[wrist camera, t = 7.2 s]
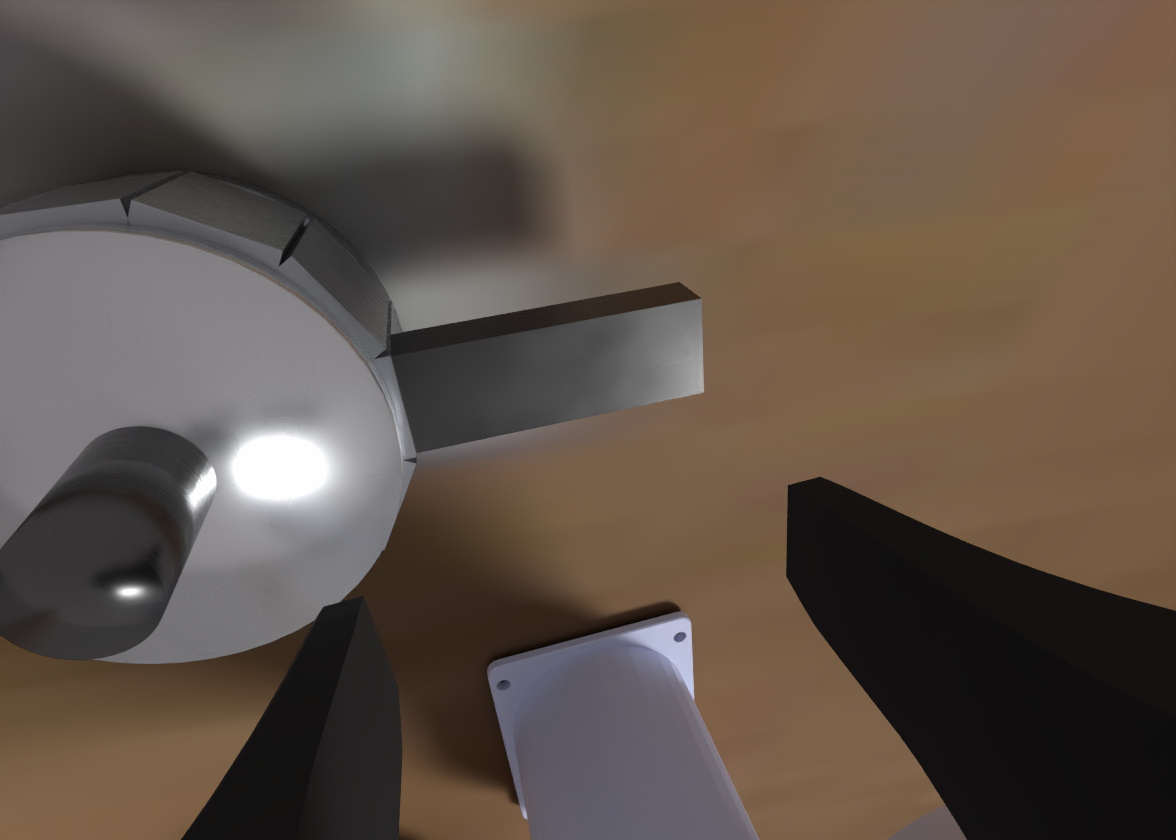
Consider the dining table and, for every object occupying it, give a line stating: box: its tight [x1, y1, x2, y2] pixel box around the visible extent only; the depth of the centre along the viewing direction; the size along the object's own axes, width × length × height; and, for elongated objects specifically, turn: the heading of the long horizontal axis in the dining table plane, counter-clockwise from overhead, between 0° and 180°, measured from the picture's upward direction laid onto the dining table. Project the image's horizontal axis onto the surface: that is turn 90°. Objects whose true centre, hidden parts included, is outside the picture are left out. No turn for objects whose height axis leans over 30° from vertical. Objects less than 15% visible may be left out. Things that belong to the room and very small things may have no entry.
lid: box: [0, 223, 402, 664], centre depth 13 cm, size 10×10×5 cm
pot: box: [0, 170, 704, 557], centre depth 16 cm, size 10×20×5 cm, turn 96°
